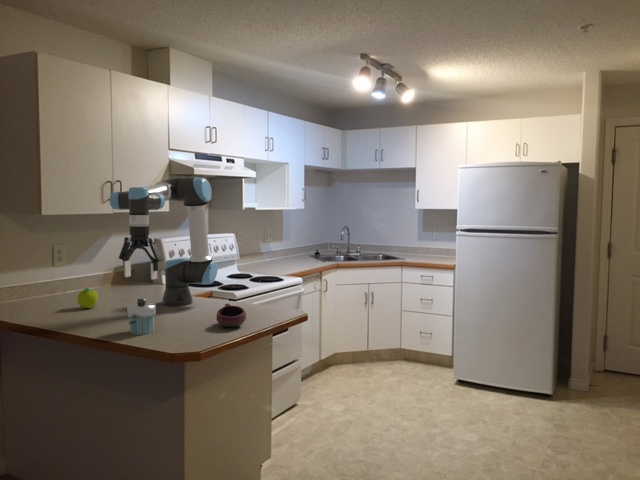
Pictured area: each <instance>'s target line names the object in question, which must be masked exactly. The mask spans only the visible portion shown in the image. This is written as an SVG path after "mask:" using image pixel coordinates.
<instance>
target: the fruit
mask: <svg viewBox="0 0 640 480" xmlns="http://www.w3.org/2000/svg"><path fill="white" fill-rule="evenodd" d="M76 300H77V304H78V305H79V306H80V307H81V308H82V309H85V308H89V309H93V308H94V307H95V306H96V304H97V302H98V300H99V294H98V293H97V291H96V290H91V289H90V288H89V287H88V288H87V287H86V288H83V289H82V290H80V291H79V292H78V295H77V299H76Z"/></svg>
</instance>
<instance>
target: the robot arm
mask: <svg viewBox="0 0 640 480" xmlns="http://www.w3.org/2000/svg"><path fill="white" fill-rule="evenodd" d="M212 193H213V191H212V187H211V184H210V182H209V181H208V180H207V179H206V178H204V177H198V176H197V177H196V176H193V177H192V176H191V177H172V178H168V179H164V180H160V181H158V182H156V183H155V184H153V185H149V186H144V187H141V186H140V187H137V186H135V187H134V186H131V187H130V188H128V190H127V191H114V192H112V193H111V194H110V196H109V205H110V207H111V208H112V209H114V210H120V211H122V210H129V211H128V212H129V213H128V214H129V216H128V217H129V218H128V221H129V225H130V226H129V235H130V236H124V239H123V240H124V242H123V245H122V248H121V250H120V254H119V255H118V259H119V260H122V267H123V269H124V278H129V277H131V276H132V269H131V268H132V267H131V260H130V258H131V257H132V256H133V254H134V252H135V251H136V249H139V250H143V251H144V252H145V253H146V255H147V256H148V258H149V259H150V261H151V262H150V280H157V279H158V270H159V262H162V261H163V257H162V255H161V253H160V250H159V248H158V245H157V243H156V237H150V238H149V235H150V226H149V225H150V211H157V210H160V209H162V208H164V207H165V203H166V202H167V201H170V202H183V207H184V208H185V209H187V218H188V219H187V220H188V230H189V242H190V243H189V244H190V253H191V256H190V257H189V258H188V257H178V258H172V259H167V260H166V261H165V263H164V283H165V289H164V292H163V297H162V299H161V304H162V305H164V306H170V307H177V306H179V307H180V306H187V305H191V304H193V297H192V293H191V290H190V286H189V285H190V284H193V285H194V284H195V285H211V284H213V283H214V281H215V280H216V278H217V275H218V264H217V262H216V261H214V260H213V256H212V255H211V254H210V252H209V241H208V240H209V239H208V229H207V217H206V215H207V213H206V207H207V206H208V205H209V202H210V201H211V199H212V195H213V194H212Z"/></svg>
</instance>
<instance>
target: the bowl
mask: <svg viewBox="0 0 640 480" xmlns="http://www.w3.org/2000/svg"><path fill="white" fill-rule="evenodd" d="M215 319H216V321H217V323H218V324H219V325H220V326H223V327H225V328H236V327H239V326H241V325H243V324H244V323H245V322H246V320H247V312H246V310H245V309H244V308H243V307H241V306H237V305H231V304H230V303H225V305H224V306H223V307H221V308H219V309H218V310H217V312H216V318H215Z"/></svg>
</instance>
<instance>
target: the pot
mask: <svg viewBox="0 0 640 480" xmlns="http://www.w3.org/2000/svg"><path fill="white" fill-rule="evenodd" d="M128 318H129V320H128V325H129V334H131V335H135V336H139V335H150V334H152V333H154V332H155V315H154V316H151V317H145V318H131V317H128Z"/></svg>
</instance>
